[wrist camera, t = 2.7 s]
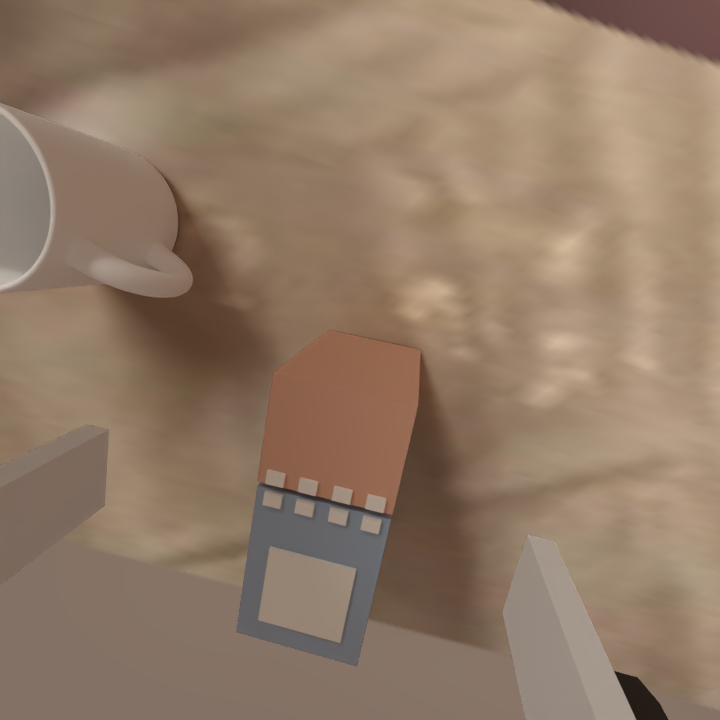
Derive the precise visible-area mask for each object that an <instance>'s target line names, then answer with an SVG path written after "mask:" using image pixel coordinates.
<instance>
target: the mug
mask: <svg viewBox="0 0 720 720" xmlns="http://www.w3.org/2000/svg"><path fill="white" fill-rule="evenodd" d="M177 233H178V212H177V207H176V203H175V200H174V196H173V194H172V192H171V190H170V187H169V186H168V184H167V182H166V181H165V179H164V178H163V176H162V175H161V174H160V172H159V171H158V170H157V169H156V168H155V167H154V166H153V165H152V164H150V163H149V162H148V161H147V160H145V159H144V158H142V157H141V156H139V155H137V154H136V153H134V152H131V151H129V150H127V149H125V148H122V147H120V146H117V145H115V144H112V143H109V142H106V141H104V140H101V139H98V138H95V137H93V136H90V135H87V134H84V133H82V132H79V131H76V130H73V129H71V128H68V127H65V126H62V125H60V124H57V123H54V122H52V121H49V120H46V119H43V118H41V117H38V116H35V115H32V114H30V113H27V112H24V111H21V110H19V109H16V108H13V107H10V106H8V105H5V104H2V103H0V293H2V292H14V291H26V290H38V289H50V288H62V287H74V286H86V285H98V284H106V285H109V286H112V287H114V288H117V289H120V290H123V291H126V292H130V293H134V294H138V295H143V296H148V297H159V298H170V297H177V296H180V295H183V294H184V293H186V292H188V290H189V289H190V288H191V286H192V283H193V276H192V273H191V270H190V269H189V268H188V266H187V265H186V264H185V263H184V262H183V261H182V260H181V259H180V258H179V257H178V256H177V255H176V254H174V253H173V252H172V250H173V247H174V245H175V242H176V238H177ZM156 270H158V271H156ZM159 271H160V272H159Z"/></svg>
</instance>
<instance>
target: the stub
mask: <svg viewBox="0 0 720 720" xmlns="http://www.w3.org/2000/svg"><path fill="white" fill-rule="evenodd" d="M420 353H421V350H420V349H415V348H410V347H406V346H401V345H396V344H392V343H387V342H382V341H378V340H373V339H368V338H364V337H359V336H354V335H349V334H345V333H340V332H335V331H331V330H329V331H327V332H326V333H325V334H323V335H322V336H321V337H320V338H318V339H317V340H316V341H314V342H313V343H312V344H310V345H309V346H308V347H306V348H305V349H304V350H303V351H301V352H300V353H299V354H297V355H296V356H295V357H293V358H292V359H291V360H289V361H288V362H287V363H285V364H284V365H283V366H282V367H280V368H279V369H278V370H276V371H275V372H274V373H273V378H272V385H271V392H270V398H269V405H268V412H267V419H266V426H265V433H264V440H263V447H262V454H261V461H260V468H259V474H258V482H262V483H265V484H268V485H272V486H276V487H280V488H286V489H290V490H294V491H297V492H300V493H304V494H308V495H312V496H318V497H322V498H326V499H330V500H332V501H336V502H340V503H344V504H348V505H354V506H358V507H362V508H365V509H368V510H372V511H376V512H380V513H386V514H390V515H393V511H394V507H395V503H396V498H397V494H398V490H399V485H400V481H401V477H402V473H403V468H404V464H405V460H406V456H407V451H408V447H409V443H410V439H411V434H412V430H413V426H414V422H415V417H416V413H417V409H418V400H419V376H420Z"/></svg>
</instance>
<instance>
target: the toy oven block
mask: <svg viewBox="0 0 720 720" xmlns="http://www.w3.org/2000/svg"><path fill="white" fill-rule="evenodd" d="M391 518H392V515H390V514H386V513H380V512H376V511H372V510H368V509H365V508H362V507H358V506H354V505H348V504H344V503H340V502H336V501H332V500H330V499H326V498H322V497H318V496H312V495H308V494H304V493H300V492H297V491H294V490H290V489H286V488H280V487H276V486H272V485H268V484H265V483H262V482H260V483H259V485H258V486H257V493H256V500H255V507H254V514H253V520H252V527H251V534H250V541H249V548H248V555H247V562H246V569H245V576H244V582H243V589H242V596H241V603H240V610H239V617H238V624H237V632H238V633H242V634H245V635H249V636H252V637H256V638H259V639H263V640H266V641H270V642H273V643H277V644H280V645H284V646H287V647H291V648H294V649H298V650H301V651H305V652H308V653H312V654H316V655H319V656H323V657H326V658H329V659H333V660H336V661H340V662H343V663H347V664H351V665H354V666H357V664H358V659H359V655H360V651H361V647H362V643H363V638H364V634H365V630H366V626H367V621H368V617H369V613H370V608H371V604H372V600H373V596H374V591H375V587H376V583H377V579H378V574H379V570H380V566H381V562H382V557H383V553H384V549H385V545H386V540H387V536H388V532H389V527H390V523H391Z"/></svg>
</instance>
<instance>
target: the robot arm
mask: <svg viewBox="0 0 720 720" xmlns="http://www.w3.org/2000/svg"><path fill="white" fill-rule="evenodd" d="M108 436H109V429H105V428H101V427H97V426H93V425H89V424H86V425H84V426H82V427H79V428H77V429H75V430H73V431H71V432H69V433H67V434H65V435H63V436H61V437H59V438H57V439H55V440H53V441H50V442H48V443H46V444H44V445H42V446H40V447H38V448H36V449H34V450H32V451H30V452H28V453H26V454H24V455H21V456H19V457H17V458H15V459H13V460H11V461H9V462H7V463H5V464H3V465H1V466H0V585H1V584H3V583H4V582H5V581H7V580H8V579H9V578H11V577H12V576H13V575H14V574H16V573H17V572H19V571H20V570H21V569H22V568H24V567H25V566H26V565H28V564H29V563H30V562H32V561H33V560H34V559H35V558H37V557H38V556H39V555H41V554H42V553H43V552H45V551H46V550H47V549H49V548H50V547H51V546H53V545H54V544H55V543H56V542H58V541H59V540H60V539H62V538H63V537H64V536H66V535H67V534H68V533H70V532H71V531H72V530H74V529H75V528H76V527H77V526H79V525H80V524H81V523H83V522H84V521H85V520H87V519H88V518H89V517H91V516H92V515H93V514H94V513H96V512H97V511H98V510H100V509H101V508H102V507H104V506H105V491H106V473H107V454H108ZM502 614H503V619H504V623H505V628H506V632H507V637H508V642H509V646H510V651H511V655H512V660H513V664H514V669H515V674H516V678H517V683H518V688H519V692H520V697H521V702H522V706H523V711H524V715H525V720H668V718H667V716H666V714H665V713H664V711H663V709H662V707H661V705H660V704H659V702H658V701H657V700H656V699H655V697H654V696H653V695H652V694H651V693H650V692H649V690H648V689H647V688H646V687H645V686H644V685H643V683H642V682H641V681H640V680H639V679H638V678H637V677H634V676H630V675H626V674H623V673H619V672H615V671H614V670H613V668H612V666H611V664H610V661H609V659H608V657H607V655H606V653H605V650H604V648H603V646H602V644H601V642H600V640H599V637H598V635H597V633H596V631H595V629H594V626H593V624H592V622H591V620H590V618H589V615H588V613H587V611H586V609H585V607H584V605H583V602H582V600H581V598H580V596H579V594H578V591H577V589H576V587H575V585H574V583H573V581H572V578H571V576H570V574H569V572H568V570H567V567H566V565H565V563H564V561H563V559H562V556H561V554H560V552H559V550H558V548H557V546H556V543H555V541H552V540H548V539H544V538H540V537H536V536H532V535H528V534H527V537H526V540H525V543H524V546H523V550H522V553H521V556H520V559H519V562H518V565H517V568H516V571H515V574H514V577H513V580H512V584H511V587H510V590H509V593H508V596H507V599H506V602H505V605H504V608H503V611H502Z"/></svg>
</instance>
